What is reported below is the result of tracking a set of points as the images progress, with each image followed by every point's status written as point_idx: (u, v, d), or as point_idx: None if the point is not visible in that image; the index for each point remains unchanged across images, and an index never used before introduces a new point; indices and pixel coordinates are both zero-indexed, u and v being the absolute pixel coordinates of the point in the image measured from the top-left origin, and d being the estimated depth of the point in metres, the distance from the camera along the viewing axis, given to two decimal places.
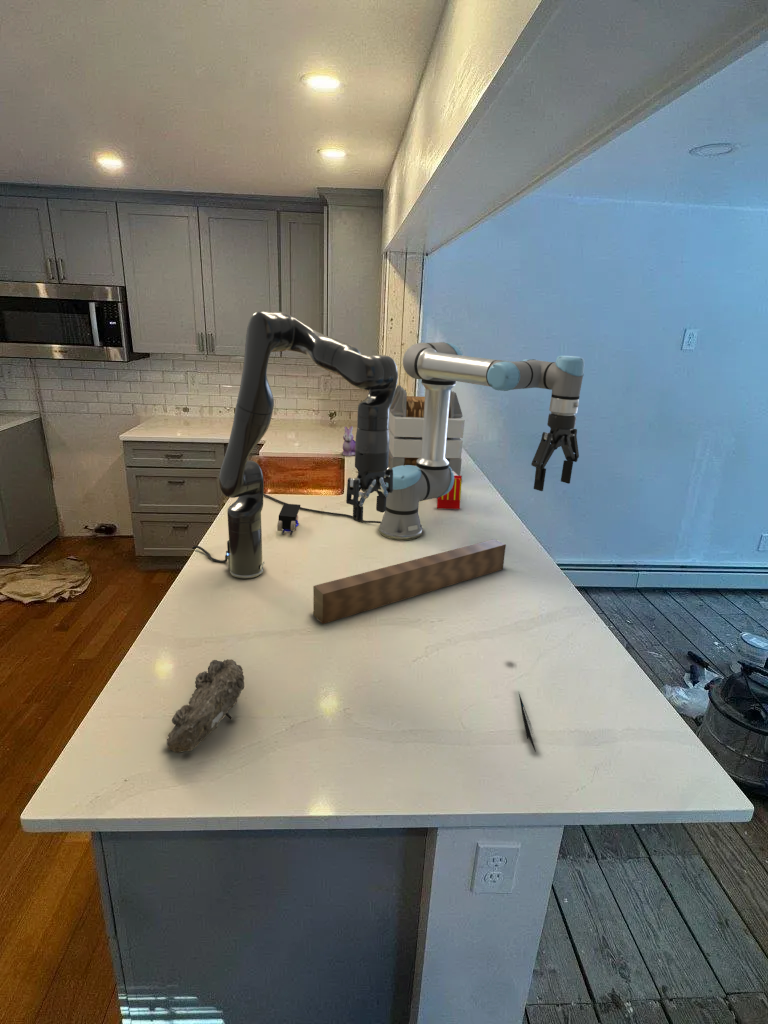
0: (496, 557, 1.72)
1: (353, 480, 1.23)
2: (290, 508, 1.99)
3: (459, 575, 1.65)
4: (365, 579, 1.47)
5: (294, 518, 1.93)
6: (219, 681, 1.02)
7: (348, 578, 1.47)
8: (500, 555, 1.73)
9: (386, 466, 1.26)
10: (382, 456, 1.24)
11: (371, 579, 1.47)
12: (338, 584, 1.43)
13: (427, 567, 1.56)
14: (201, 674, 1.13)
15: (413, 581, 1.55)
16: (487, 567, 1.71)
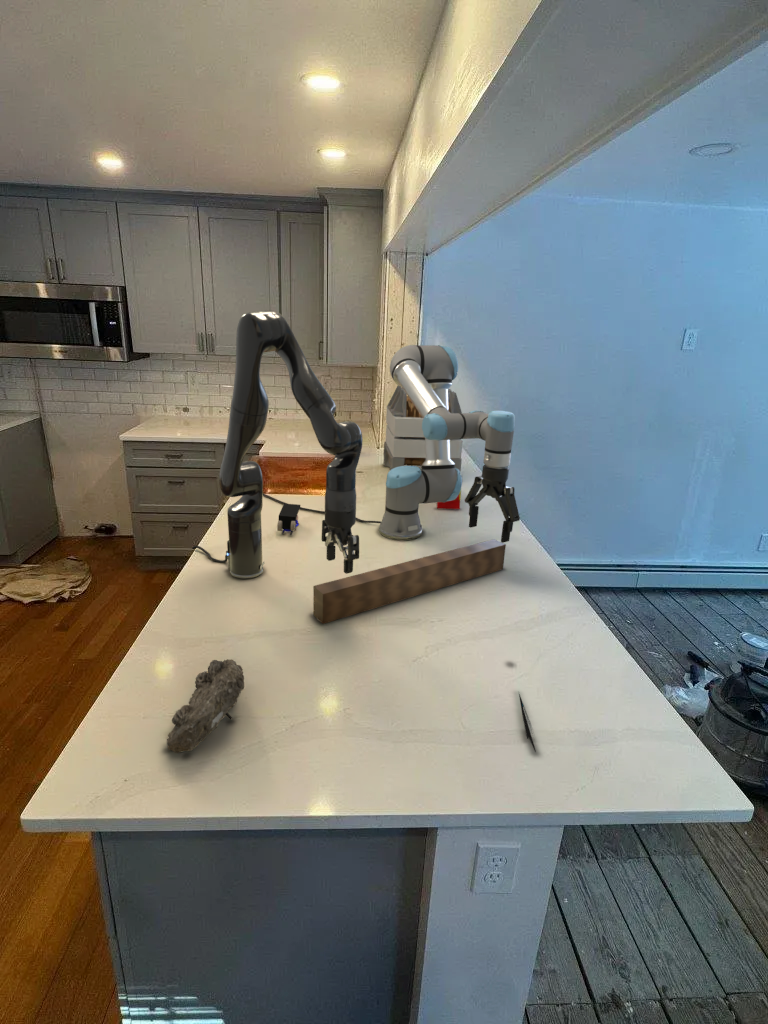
0: (496, 557, 1.72)
1: (355, 537, 1.34)
2: (290, 508, 1.99)
3: (459, 575, 1.65)
4: (365, 579, 1.47)
5: (294, 518, 1.93)
6: (219, 681, 1.02)
7: (348, 578, 1.47)
8: (500, 555, 1.73)
9: None
10: None
11: (371, 579, 1.47)
12: (338, 584, 1.43)
13: (427, 567, 1.56)
14: (201, 674, 1.13)
15: (413, 581, 1.55)
16: (487, 567, 1.71)
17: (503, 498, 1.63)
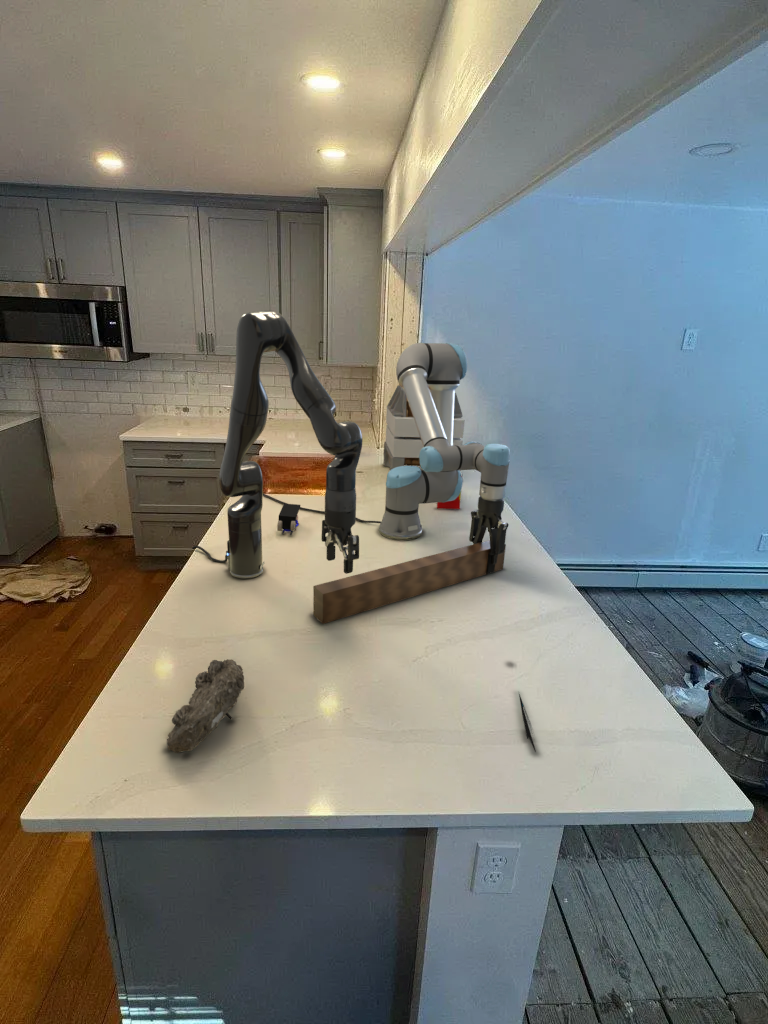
0: None
1: (355, 537, 1.34)
2: (290, 508, 1.99)
3: (459, 575, 1.65)
4: (365, 579, 1.47)
5: (294, 518, 1.93)
6: (219, 681, 1.02)
7: (348, 578, 1.47)
8: (500, 555, 1.73)
9: None
10: None
11: (371, 579, 1.47)
12: (338, 584, 1.43)
13: (427, 567, 1.56)
14: (201, 674, 1.13)
15: (413, 581, 1.55)
16: None
17: (495, 531, 1.68)
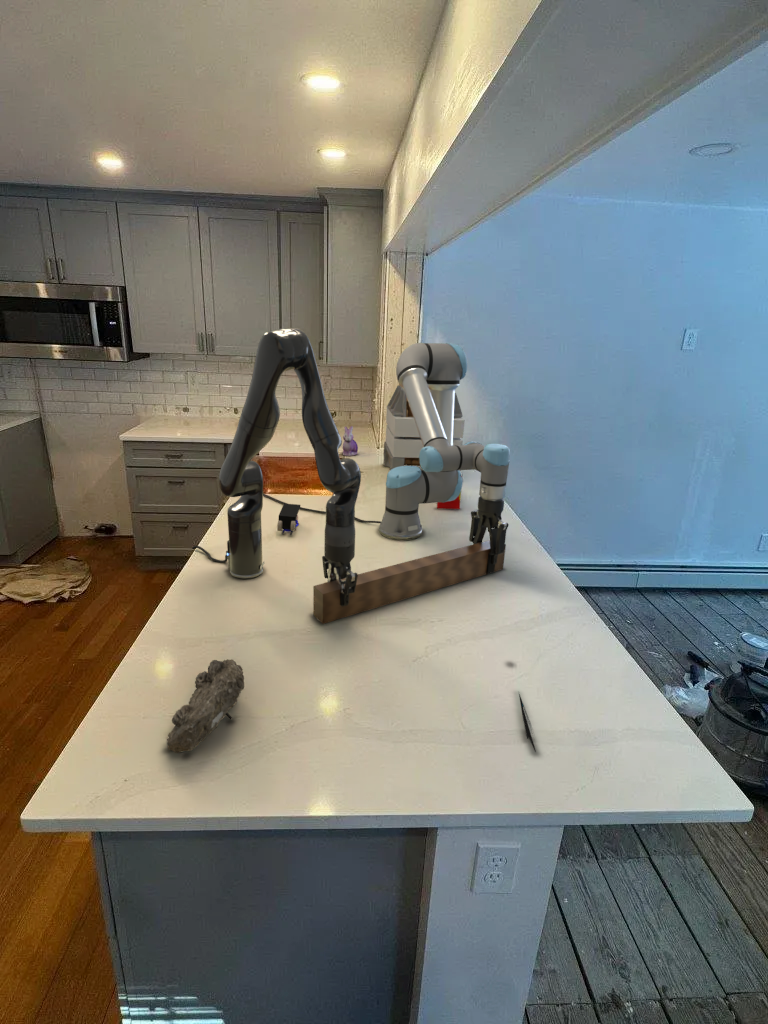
0: None
1: (354, 575, 1.37)
2: (290, 508, 1.99)
3: (459, 575, 1.65)
4: (365, 579, 1.47)
5: (294, 518, 1.93)
6: (219, 681, 1.02)
7: None
8: (500, 555, 1.73)
9: None
10: None
11: (371, 579, 1.47)
12: None
13: (427, 567, 1.56)
14: (201, 674, 1.13)
15: (413, 581, 1.55)
16: None
17: (495, 531, 1.68)
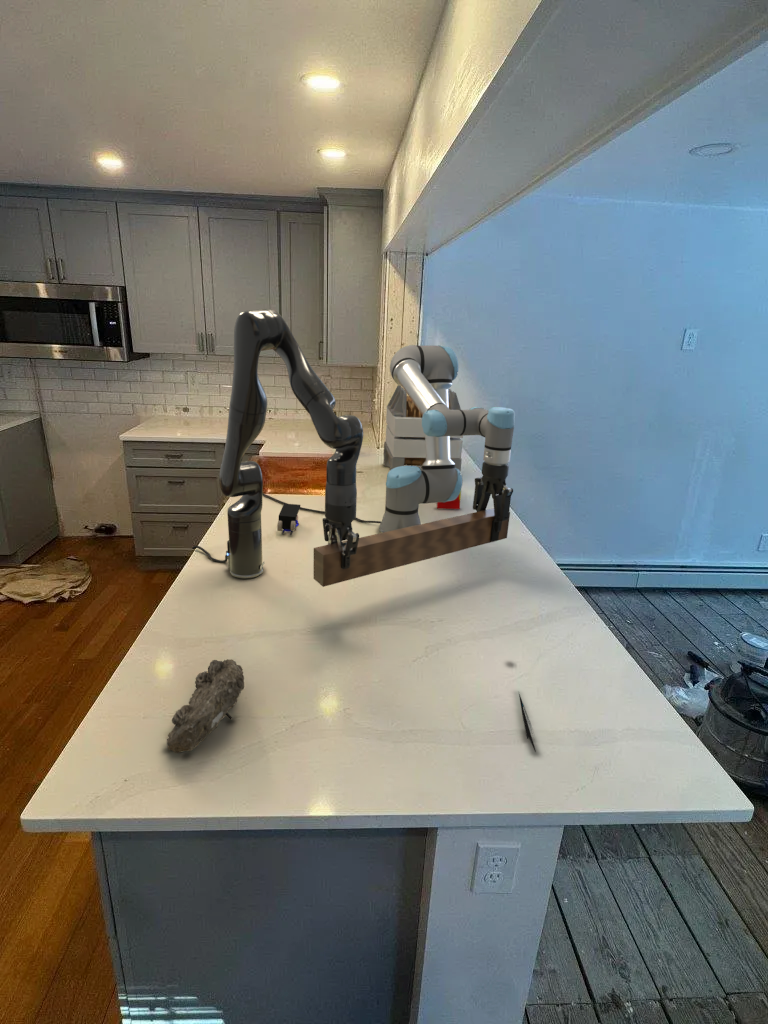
0: None
1: (356, 535, 1.33)
2: (290, 508, 1.99)
3: (463, 542, 1.61)
4: (367, 542, 1.43)
5: (294, 518, 1.93)
6: (219, 681, 1.02)
7: None
8: (504, 523, 1.69)
9: None
10: None
11: (373, 542, 1.43)
12: (339, 546, 1.40)
13: (430, 532, 1.53)
14: (201, 674, 1.13)
15: (415, 546, 1.51)
16: None
17: (499, 497, 1.64)
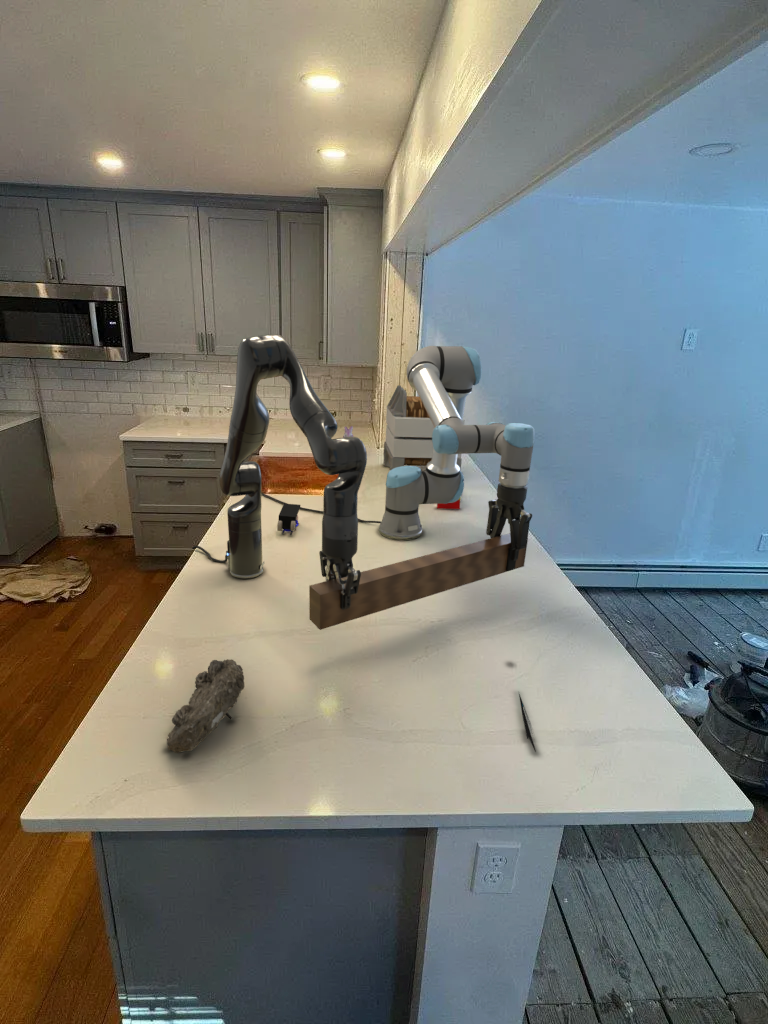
0: None
1: (357, 573, 1.17)
2: (290, 508, 1.99)
3: (476, 573, 1.45)
4: (370, 577, 1.27)
5: (294, 518, 1.93)
6: (219, 681, 1.02)
7: None
8: (521, 550, 1.53)
9: None
10: None
11: (376, 577, 1.27)
12: (338, 584, 1.23)
13: (440, 564, 1.36)
14: (201, 674, 1.13)
15: (424, 580, 1.35)
16: None
17: (516, 522, 1.48)
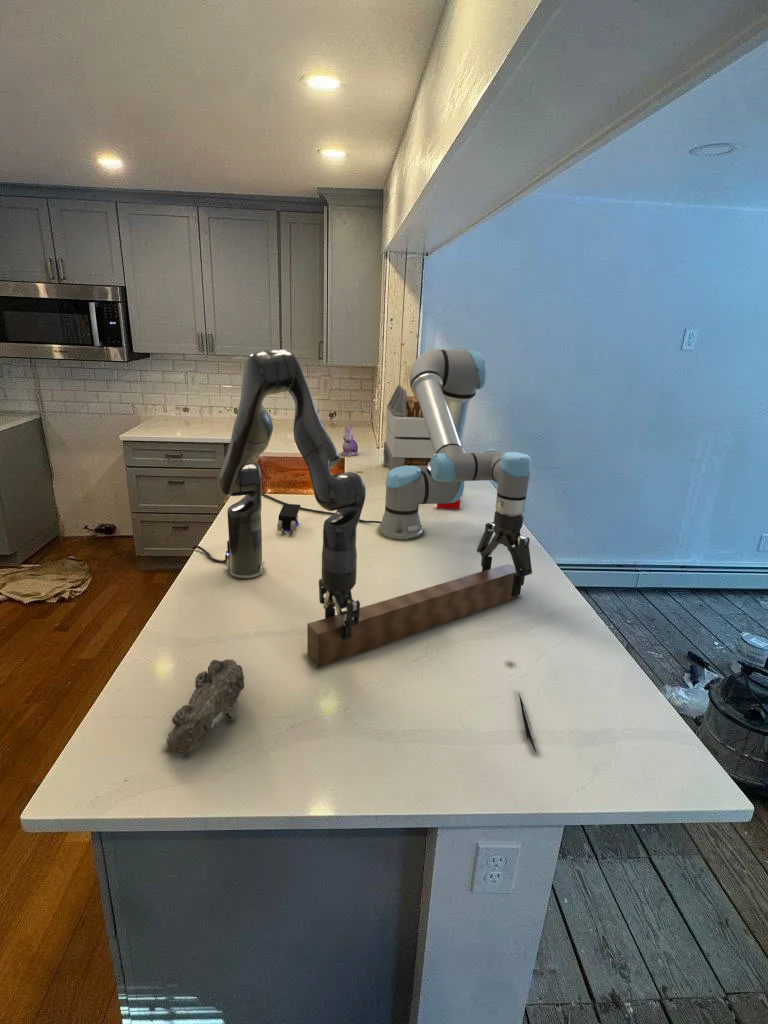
0: (511, 584, 1.55)
1: (356, 603, 1.19)
2: (290, 508, 1.99)
3: (471, 606, 1.48)
4: (366, 614, 1.30)
5: (294, 518, 1.93)
6: (219, 681, 1.02)
7: None
8: None
9: None
10: None
11: (373, 614, 1.30)
12: (336, 621, 1.26)
13: (435, 599, 1.40)
14: (201, 674, 1.13)
15: (420, 615, 1.38)
16: (501, 596, 1.54)
17: (516, 548, 1.49)
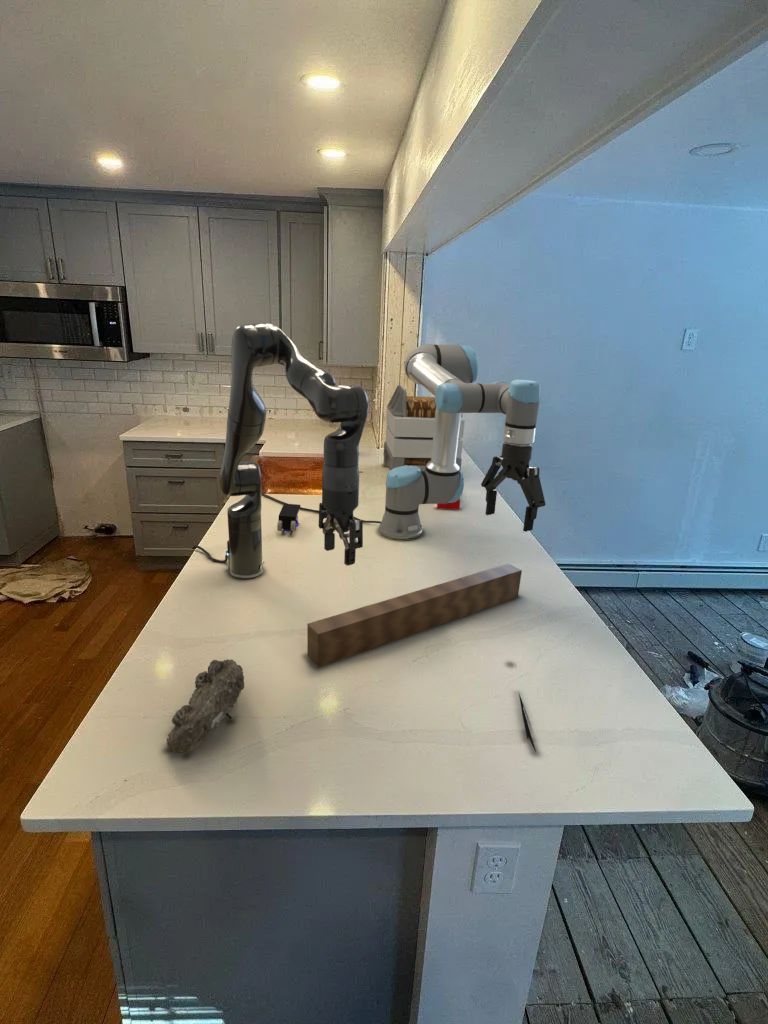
0: (511, 584, 1.55)
1: (358, 522, 1.13)
2: (290, 508, 1.99)
3: (471, 606, 1.48)
4: (366, 614, 1.30)
5: (294, 518, 1.93)
6: (219, 681, 1.02)
7: (347, 613, 1.30)
8: (515, 582, 1.56)
9: None
10: None
11: (373, 614, 1.30)
12: (336, 621, 1.26)
13: (435, 599, 1.40)
14: (201, 674, 1.13)
15: (420, 615, 1.38)
16: (501, 596, 1.54)
17: (526, 480, 1.43)
